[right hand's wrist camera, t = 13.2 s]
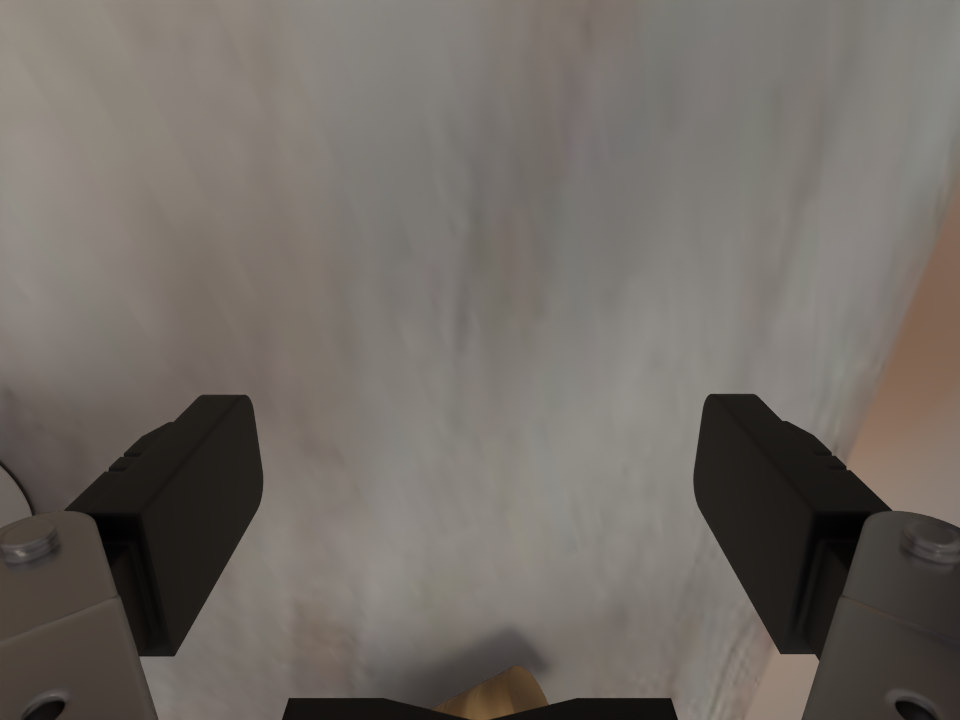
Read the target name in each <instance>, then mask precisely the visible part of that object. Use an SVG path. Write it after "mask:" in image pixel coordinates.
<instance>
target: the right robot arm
mask: <svg viewBox="0 0 960 720" xmlns="http://www.w3.org/2000/svg"><path fill="white" fill-rule="evenodd" d="M693 481H694V493H695V498H696V502H697V505H698V507H699V509H700V511H701V513H702V514H703V516H704V518H705V520H706V522H707V523H708V525H709V527H710V529H711V531H712V532H713V534H714V536H715V538H716V539H717V541H718V543H719V545H720V547H721V548H722V550H723V552H724V554H725V556H726V557H727V559H728V561H729V563H730V565H731V566H732V568H733V570H734V572H735V573H736V575H737V577H738V579H739V581H740V582H741V584H742V586H743V588H744V590H745V591H746V593H747V595H748V597H749V599H750V600H751V602H752V604H753V606H754V607H755V609H756V611H757V613H758V615H759V616H760V618H761V620H762V622H763V624H764V625H765V627H766V629H767V631H768V633H769V634H770V636H771V638H772V640H773V641H774V643H775V645H776V647H777V649H778V650H779V652H780V654H815V655H816V656H817V658H818V660H819V661H820V662H819V665H818V668H817V671H816V674H815V678H814V681H813V684H812V687H811V691H810V694H809V697H808V700H807V703H806V707H805V710H804V713H803V717H802V720H960V528H959V527H957V526H955V525H952V524H950V523H947V522H945V521H942V520H939V519H936V518H933V517H930V516H926V515H922V514H917V513H912V512H904V511H892V510H891V509H890V508H889V507H888V506H887V505H886V504H885V503H884V502H883V501H882V500H881V499H880V498H879V497H878V496H877V495H876V494H875V493H874V492H873V491H872V490H870V489H869V488H868V487H867V486H866V485H865V484H864V483H863V482H862V481H861V480H860V479H859V478H858V477H857V476H856V475H855V474H854V473H853V472H852V471H851V470H847V469H846V466H845V465H844V464H843V463H842V462H841V461H840V460H839V459H838V458H837V457H836V456H832V452H831V451H830V450H829V449H828V448H827V447H825V446H824V445H823V444H822V443H821V442H820V441H819V440H818V439H817V438H816V437H815V436H814V435H812V434H810V433H808V432H806V431H805V430H803V429H801V428H799V427H797V426H795V425H793V424H791V423H790V422H788V421H782V420H781V419H780V418H779V417H778V416H777V415H776V414H775V413H774V412H773V411H772V410H771V409H770V408H769V407H768V406H767V405H766V404H765V403H764V402H763V401H762V400H761V399H760V398H759V397H758V396H757V395H755V394H710V395H709V396H708V397H707V398H706V400H705V403H704V406H703V412H702V419H701V426H700V433H699V440H698V446H697V453H696V460H695V467H694V478H693ZM262 492H263V470H262V463H261V457H260V450H259V443H258V436H257V429H256V422H255V416H254V409H253V405H252V402H251V400H250V398H249V397H248V396H247V395H201V396H199V397H198V398H197V399H196V400H195V401H194V402H193V403H192V404H191V405H190V406H189V407H188V408H187V409H186V410H185V411H184V412H183V413H182V414H181V415H180V416H179V417H178V418H177V419H176V420H175V421H174V422H168V423H167V424H165V425H163V426H161V427H159V428H157V429H155V430H153V431H151V432H150V433H148V434H146V435H144V436H142V437H141V438H140V439H139V440H138V441H137V442H136V443H135V444H133V445H132V446H131V447H130V448H129V449H128V450H127V451H126V452H125V453H124V457H120V458H119V459H118V460H117V461H116V462H114V463H113V464H112V465H111V466H110V467H109V471H108V472H104V473H103V474H102V475H101V476H100V477H99V478H98V479H97V480H95V481H94V482H93V483H92V484H91V485H90V486H89V487H88V488H87V489H86V490H85V491H84V492H83V493H82V494H81V495H80V496H79V497H78V498H76V499H75V500H74V501H73V502H72V503H71V504H70V505H69V506H68V507H67V508H66V509H65V510H64V511H56V512H48V513H43V514H38V515H34V516H30V517H27V518H24V519H21V520H18V521H15V522H13V523H10V524H8V525H5V526H3V527H1V528H0V720H158V716H157V713H156V710H155V707H154V703H153V700H152V697H151V694H150V691H149V687H148V684H147V681H146V678H145V674H144V671H143V668H142V665H141V662H140V658H139V657H140V656H175V655H176V653H177V651H178V649H179V647H180V646H181V644H182V642H183V640H184V639H185V637H186V635H187V633H188V632H189V630H190V628H191V626H192V625H193V623H194V621H195V619H196V617H197V616H198V614H199V612H200V610H201V609H202V607H203V605H204V603H205V602H206V600H207V598H208V596H209V594H210V593H211V591H212V589H213V587H214V586H215V584H216V582H217V580H218V579H219V577H220V575H221V573H222V571H223V570H224V568H225V566H226V564H227V563H228V561H229V559H230V557H231V556H232V554H233V552H234V550H235V549H236V547H237V545H238V543H239V541H240V540H241V538H242V536H243V534H244V533H245V531H246V529H247V527H248V526H249V524H250V522H251V520H252V518H253V517H254V515H255V513H256V511H257V509H258V507H259V505H260V502H261V498H262ZM282 720H471V719H467V718H462V717H458V716H454V715H450V714H446V713H442V712H438V711H434V710H429V709H425V708H421V707H417V706H413V705H409V704H405V703H401V702H396V701H392V700H388V699H384V698H289V700H288V703H287V706H286V709H285V712H284V715H283V718H282ZM489 720H678V718H677V715H676V712H675V709H674V706H673V703H672V700H671V698H576V699H572V700H568V701H564V702H559V703H555V704H551V705H547V706H543V707H539V708H535V709H531V710H526V711H522V712H518V713H514V714H510V715H506V716H502V717H498V718H493V719H489Z"/></svg>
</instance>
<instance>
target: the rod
mask: <svg viewBox="0 0 960 720" xmlns="http://www.w3.org/2000/svg"><path fill="white" fill-rule="evenodd" d="M547 705H549V704H548V702H547V700H546V697H545V695H544V693H543V691H542V690H541V688H540V686H539V685H538V683H537V681H536V680H535V679H534V677H533V676H532V675H531V674H530V673H529V672H528V671H527V670H526V669H525V668H523V667H521V666H513V667H511V668H509V669H507V670H505V671H504V672H502V673H500V674H498V675H496V676H494V677H492V678H490V679H488V680H486V681H484V682H482V683H480V684H478V685H476V686H474V687H473V688H471V689H469V690H467V691H465V692H463V693H461V694H459V695H457V696H455V697H453V698H451V699H449V700H447V701H445V702H443V703H441V704H440V705H438V706H436V707H434V708H432V709H430V710H434V711H438V712H442V713H446V714H450V715H454V716H458V717H462V718H467V719H471V720H489V719H493V718H498V717H502V716H506V715H510V714H514V713H518V712H522V711H526V710H531V709H535V708H539V707H543V706H547Z"/></svg>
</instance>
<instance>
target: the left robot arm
mask: <svg viewBox="0 0 960 720" xmlns="http://www.w3.org/2000/svg"><path fill="white" fill-rule="evenodd" d="M30 516H32V513H31V510H30V507H29V505H28V502H27V500H26V498H25V496H24V495H23V493H22V491H21V490H20V488H19V487H18V485H17V484H16V482H15V481H14V480H13V479H12V477H11V476H10V475H9V474H8V473H7V472H6V471H5V470H4V469H3V468H2V467H1V466H0V528H1V527H3V526H5V525H8V524H10V523H13V522H15V521H18V520H21V519H24V518H27V517H30Z"/></svg>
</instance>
